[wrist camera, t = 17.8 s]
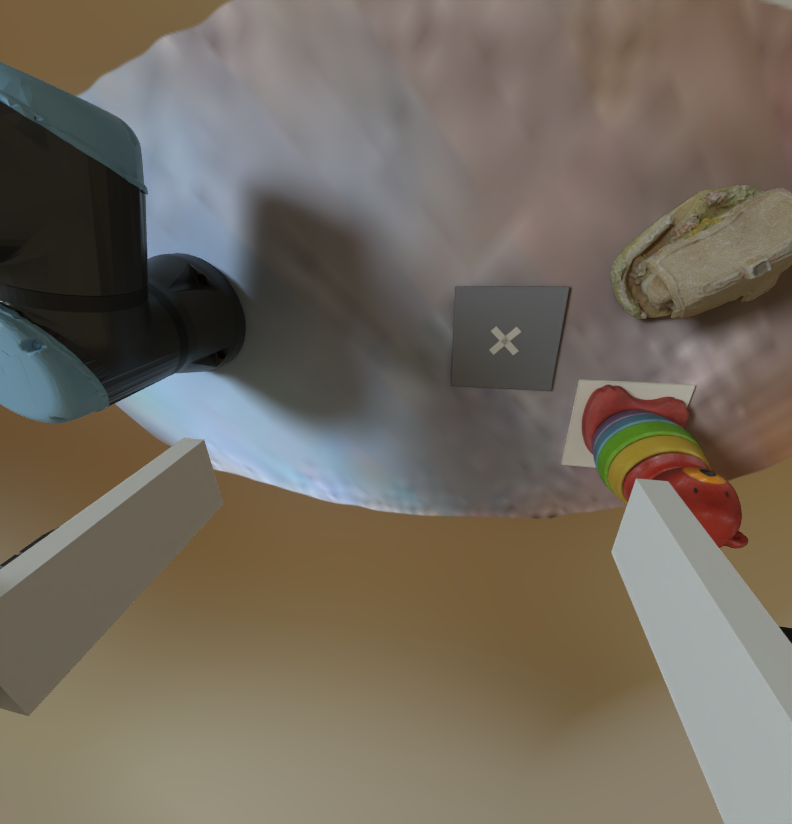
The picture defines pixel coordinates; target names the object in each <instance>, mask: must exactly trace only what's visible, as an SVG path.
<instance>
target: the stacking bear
mask: <svg viewBox="0 0 792 824" xmlns="http://www.w3.org/2000/svg"><path fill="white" fill-rule="evenodd" d="M688 418H689V410H688V409H687V407H686V404H685V403H684V402H683V401H682V400H679V399H675V398H674V397H662V398H658V399H653V400H643V399H638V398H635V397H633V396H631V395H630V394H629V393H627V392H626V390H625V389H623V388H622V387H621V386H612V385H610V384H607V385H605V386H603V387H601V388H598V389H596V390H595V391H594V392H593V393H592V394H591V395H590V397H589V399H588V401H587V403H586V406H585V409H584V412H583V416H582V436H583V440H584V443H585V445H586V447H587V449H588V450H589V451H590V453H591V454H592V455H593V456H594V462H595V465H596V468H597V471H598V473H599V475H600V477H601V479H602V480H603V482H604V483H605V484H606V486H607V487H608V488H609V489H610V490H611V491H612V492H613V493H614V494H615V495H616V496H617V497H618V498H619V499H620V500H621V501H622V502H624V503H625V504H626V505H627V504H628V501H629V498H630V495H631V492H632V489H633V486H634V483H635V480H636V478H637V479H648V480H660V481H668V482H669V483H670V484H671V486H672V487H673V488H674V490H675V491H676V492H677V494H678V495H679V496H680V497H681V499H682V500H683V501H684V503H685V504H686V505H687V507H688V508H689V509H690V511H691V512H692V513H693V515H694V516H695V517H696V519H697V520H698V521H699V522H700V524H701V525H702V526H703V528H704V529H705V530H706V532H707V533H708V534H709V536H710V537H711V538H712V540H713V541H714V542H715V544H716V545H717V546H718V547H719V548H720V547H722V546H728V547H731V548H742V547H744V546H746V545H747V543H748V538H747V537H746V536H745V535H743V534H742V533H741V532H739V531H738V530H739V527H740V525H741V519H742V513H741V505H740V502H739V498H738V496H737V493H736V492H735V490H734V488H733V487H732V486H731V484H730V483H729V482H728V481H727V480H725V479H724V478H723V477H722V476H720V475H719V474H717V473H715V472H712V471H711V467H710V465H709V463H708V460H707V459H706V457H705V455H704V453H703V451H702V449H701V447H700V446H699V444H698V443H697V441H696V440H695V439H694V438H693V436H692V435H691V434H690V433H689V432H687V431H686V430H685V429H684V426H685V425H686V423H687V421H688Z"/></svg>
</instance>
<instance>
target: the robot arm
mask: <svg viewBox="0 0 792 824" xmlns="http://www.w3.org/2000/svg"><path fill="white" fill-rule="evenodd" d="M145 194H148V190H147V187H146V186H145V185H144V176H143V165H142V153H141V146H140V143H139V140H138V138H137V136H136V135H135V133H134V132H133V130H132V129H131V128H130V127H129V126H128V125H127V124H126V123H125V122H124V121H122V120H121V119H120V118H118V117H117V116H115V115H113V114H111V113H109V112H107V111H105V110H103V109H101V108H99V107H97V106H95V105H93V104H91V103H89V102H87V101H85V100H83V99H81V98H78V97H76V96H74V95H72V94H70V93H68V92H66V91H64V90H61V89H59V88H57V87H55V86H53V85H51V84H48V83H46V82H44V81H42V80H40V79H37V78H35V77H33V76H31V75H29V74H27V73H24V72H22V71H20V70H18V69H15V68H13V67H11V66H9V65H6V64H4V63H2V62H0V404H1V405H3V406H4V407H6V408H8V409H9V410H11V411H13V412H15V413H18V414H20V415H22V416H24V417H27V418H30V419H33V420H37V421H40V422H46V423H64V422H69V421H72V420H75V419H78V418H80V417H83V416H85V415H88V414H90V413H93V412H98V411H102V410H103V409H105V408H106V407H108V406H110V405H112V404H114V403H116V402H118V401H120V400H122V399H124V398H126V397H128V396H130V395H132V394H134V393H136V392H138V391H140V390H142V389H144V388H146V387H148V386H150V385H152V384H154V383H156V382H158V381H160V380H162V379H164V378H166V377H168V376H170V375H172V374H174V373H189V372H204V371H210V370H213V369H216V368H218V367H220V366H222V365H224V364H226V363H228V362H229V361H231V360H232V359H233V358H234V357H235V356H236V355H237V354H238V352H239V350H240V349H241V347H242V344H243V341H244V336H245V320H244V314H243V310H242V307H241V304H240V302H239V299H238V297H237V295H236V293H235V292H234V290H233V288H232V287H231V285H230V284H229V283H228V281H227V280H226V279H225V278H224V277H223V276H222V274H221V273H220V272H218V271H217V270H216V269H215V268H214V267H213V266H211V265H210V264H208V263H207V262H205V261H203V260H201V259H199V258H197V257H194V256H191V255H188V254H181V253H175V254H163V255H157V256H154V257H151V258H149V259H147V232H146V199H145ZM223 504H224V503H223V500H222V496H221V493H220V490H219V487H218V483H217V480H216V477H215V474H214V471H213V467H212V464H211V461H210V458H209V454H208V451H207V448H206V445H205V441H204V440H202V439H190V438H183V439H182V440H181V441H179V442H178V443H176V444H175V445H174V446H172V447H171V448H169V449H168V450H167V451H165V452H164V453H162V454H161V455H160V456H158V457H157V458H155V459H154V460H153V461H151V462H150V463H148V464H147V465H146V466H144V467H143V468H142V469H140V470H139V471H137V472H136V473H134V474H133V475H132V476H130V477H129V478H127V479H126V480H125V481H123V482H122V483H121V484H119V485H118V486H116V487H115V488H113V489H112V490H111V491H109V492H108V493H106V494H105V495H104V496H102V497H101V498H99V499H98V500H97V501H95V502H94V503H92V504H91V505H90V506H88V507H87V508H85V509H84V510H83V511H81V512H80V513H78V514H77V515H76V516H74V517H73V518H72V519H70V520H69V521H67V522H66V523H64V524H63V525H62V526H60V527H58V528H56V529H54V530H52V531H50V532H48V533H46V534H44V535H42V536H41V537H40V538H38V539H37V540H35V541H34V542H33V543H31V544H30V545H28V546H27V547H25V548H24V549H23V550H21V551H20V554H19V555H14V556H13V557H11V558H10V559H8V560H7V561H6V562H4V563H3V564H1V565H0V708H2V709H5V710H9V711H13V712H16V713H20V714H24V715H27V716H29V715H30V714H31V713H32V712H33V711H34V709H35V708H36V707H37V706H38V705H39V704H40V703H41V702H42V701H43V700H44V699H45V698H46V697H47V695H48V694H49V693H50V692H51V691H52V690H53V689H54V688H55V687H56V686H57V685H58V683H59V682H60V681H61V680H62V679H63V678H64V677H65V676H66V675H67V674H68V673H69V672H70V670H71V669H72V668H73V667H74V666H75V665H76V664H77V663H78V662H79V661H80V660H81V658H82V657H83V656H84V655H85V654H86V653H87V652H88V651H89V650H90V649H91V648H92V647H93V645H94V644H95V643H96V642H97V641H98V640H99V639H100V638H101V636H103V635H104V633H105V632H106V631H107V630H108V629H109V628H110V627H111V626H112V625H113V623H114V622H115V621H116V620H117V619H118V618H119V617H120V616H121V615H122V614H123V613H124V612H125V610H127V608H128V607H129V606H130V605H131V604H132V603H133V602H134V601H135V600H136V599H137V597H138V596H139V595H140V594H141V593H142V592H143V591H144V590H145V589H146V588H147V587H148V586H149V585H150V583H151V582H152V581H153V580H154V579H155V578H156V577H157V576H158V575H159V574H160V573H161V571H162V570H163V569H164V568H165V567H166V566H167V565H168V564H169V563H170V562H171V561H172V560H173V558H174V557H175V556H176V555H177V554H178V553H179V552H180V551H181V550H182V549H183V547H184V546H185V545H186V544H187V543H188V542H189V541H190V540H191V539H192V538H193V537H194V535H195V534H196V533H197V532H198V531H199V530H200V529H201V528H202V527H203V526H204V525H205V523H206V522H207V521H208V520H209V519H210V518H211V517H212V516H213V515H214V514H215V513H216V512H217V510H218V509H219V508H220V507H221V506H222V505H223ZM611 553H612V556H613V558H614V560H615V563H616V565H617V568H618V570H619V572H620V575H621V577H622V580H623V582H624V584H625V587H626V589H627V592H628V594H629V596H630V599H631V601H632V604H633V606H634V608H635V611H636V613H637V615H638V618H639V620H640V623H641V625H642V628H643V630H644V632H645V635H646V637H647V640H648V642H649V644H650V647H651V649H652V651H653V654H654V656H655V659H656V661H657V663H658V666H659V668H660V671H661V673H662V675H663V678H664V680H665V683H666V685H667V687H668V690H669V692H670V695H671V697H672V699H673V702H674V704H675V707H676V709H677V711H678V714H679V716H680V718H681V721H682V723H683V725H684V728H685V731H686V733H687V735H688V738H689V740H690V743H691V745H692V747H693V750H694V752H695V755H696V757H697V759H698V762H699V764H700V767H701V769H702V771H703V774H704V776H705V779H706V781H707V783H708V786H709V788H710V791H711V793H712V795H713V798H714V800H715V803H716V805H717V807H718V810H719V812H720V815H721V817H722V819H723V822H724V824H792V628H786V627H779V626H778V625H777V624H776V623H775V621H774V620H773V618H772V617H771V616H770V615H769V613H768V612H767V611H766V609H765V608H764V607H763V606H762V604H761V603H760V602H759V600H758V599H757V598H756V596H755V595H754V594H753V593H752V591H751V590H750V588H749V587H748V586H747V584H746V583H745V582H744V581H743V579H742V578H741V576H740V575H739V574H738V573H737V571H736V570H735V569H734V567H733V566H732V565H731V563H730V562H729V561H728V559H727V558H726V557H725V556H724V554H723V553H722V551H721V550H720V549H719V547H718V546H717V545H716V544H715V542H714V541H713V540H712V538H711V537H710V536H709V534H708V533H707V532H706V530H705V529H704V528H703V526H702V525H701V524H700V522H699V521H698V520H697V519H696V517H695V516H694V515H693V513H692V512H691V511H690V509H689V508H688V507H687V505H686V504H685V503H684V501H683V500H682V499H681V497H680V496H679V495H678V494H677V492H676V491H675V490H674V488H673V487H672V486H671V484H670V483H669V482H668V481H660V480H648V479H637V478H636V480H635V483H634V486H633V489H632V492H631V495H630V498H629V501H628V504H627V507H626V510H625V513H624V516H623V519H622V522H621V525H620V528H619V531H618V534H617V537H616V540H615V543H614V546H613V549H612V552H611Z"/></svg>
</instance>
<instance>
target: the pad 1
mask: <svg viewBox="0 0 792 824" xmlns="http://www.w3.org/2000/svg"><path fill="white" fill-rule="evenodd" d="M568 292H569V287H455V307H454V330H453V352H452V374H451V386H466V387H486V388H506V389H525V390H545V391H551V386H552V381H553V375H554V370H555V364H556V359H557V353H558V348H559V342H560V336H561V331H562V325H563V320H564V314H565V309H566V303H567V298H568Z"/></svg>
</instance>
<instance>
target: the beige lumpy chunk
mask: <svg viewBox="0 0 792 824" xmlns="http://www.w3.org/2000/svg"><path fill="white" fill-rule="evenodd" d="M791 265H792V193H790V191H789V190H784V189H783V188H778V189H772V190H769V191H767V192H764V191H760V190H758V189H756V188H753V187H750V186H749V185H744V186H738V185H736V186H732V187H726V188H718V189H710V190H705V191H701V192H699V193H698V194H696V195H695V196H693V197H692V198H690V199H688V200H687V201H686V202H684V203H683V204H681V205H680V206H678V207H677V208H675V209H674V210H673V211H671V212H670V213H668V214H667V215H665V216H663V217H662V218H661V219H660V220H659V221H657V222H656V223H655V224H653V225H652V226H651V227H649V228H648V229H647V230H645V231H644V232H643V233H642V234H641V235H640V236H639V237H637V238H636V239H634V241H633V242H632V243H631V244H630V245H628V246H627V247H626V248H625V249H624V250H623V251H622V253H621V254H620V255H619V256H618V257H617V258H616V260H615V261H614V264H613V265H612V267H611V274H610V277H611V282H612V286H613V289H614V293H615V295H616V298H617V300H618V302H619V303H620V304H621V305H622V306H623V307H624V310H625V311H626V312H628V313H629V314H630V315H632V316H634V317H635V318H637V319H646V317H649V318H658V317H665V316H668V315H671V319H680V318H688V317H691V316H694V315H697V314H699V313H702V312H705V311H707V310H710V309H713V308H715V307H718V306H721V305H723V304H725V303H727V302H729V301H734V300H736V299H737V298H739V301H740V302H746V301H751V300H753V299H755V298H757V297H758V296H760V295H762V294H764V293H766V292H767V291H769V290H770V289H771V288H772V287H773V286H774V285H775V284H776V282H777V280H778V278H779V275H780V274H781V273H782V272H783V271H785V270H786V269H787V268H788V267H790V266H791Z"/></svg>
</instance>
